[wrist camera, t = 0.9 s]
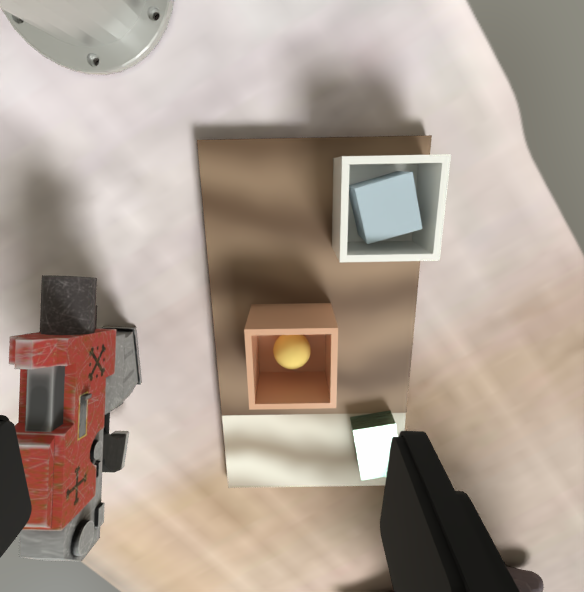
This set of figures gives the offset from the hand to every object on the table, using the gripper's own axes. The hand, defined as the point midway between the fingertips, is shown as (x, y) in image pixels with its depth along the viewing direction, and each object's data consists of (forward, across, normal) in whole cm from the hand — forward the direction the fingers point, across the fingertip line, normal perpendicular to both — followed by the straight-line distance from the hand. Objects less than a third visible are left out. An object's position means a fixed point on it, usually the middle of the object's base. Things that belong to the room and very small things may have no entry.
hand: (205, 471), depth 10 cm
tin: (+25, -11, +18) cm, 32 cm away
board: (+26, -4, +7) cm, 27 cm away
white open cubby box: (+24, -8, -5) cm, 26 cm away
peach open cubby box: (+24, -2, +7) cm, 25 cm away
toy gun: (+26, +14, +10) cm, 31 cm away
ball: (+24, -2, +7) cm, 25 cm away
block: (+24, -8, -5) cm, 26 cm away
